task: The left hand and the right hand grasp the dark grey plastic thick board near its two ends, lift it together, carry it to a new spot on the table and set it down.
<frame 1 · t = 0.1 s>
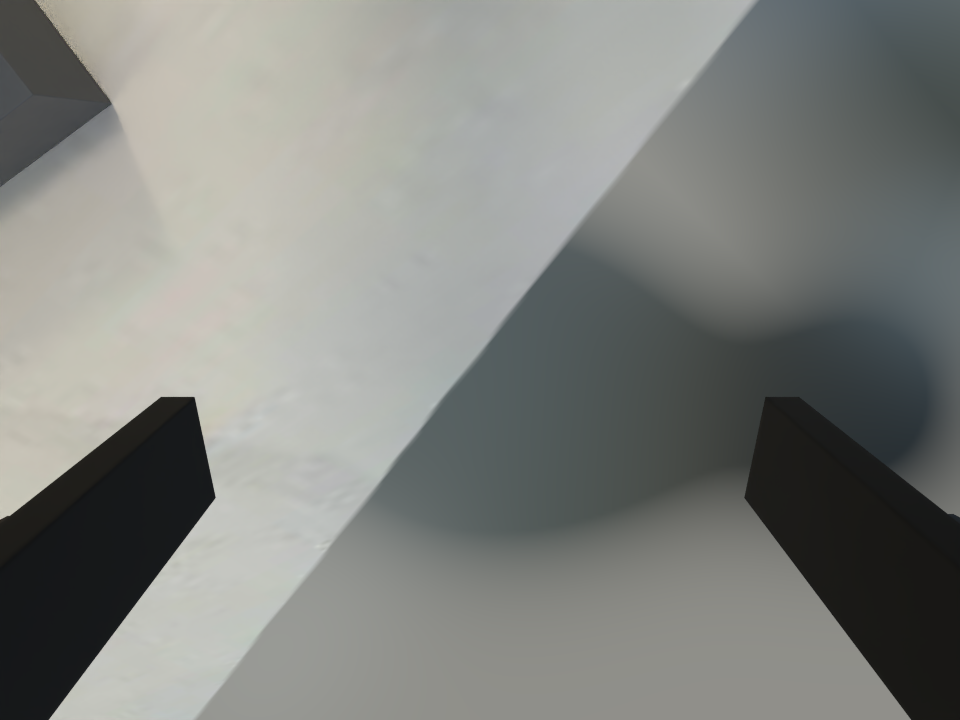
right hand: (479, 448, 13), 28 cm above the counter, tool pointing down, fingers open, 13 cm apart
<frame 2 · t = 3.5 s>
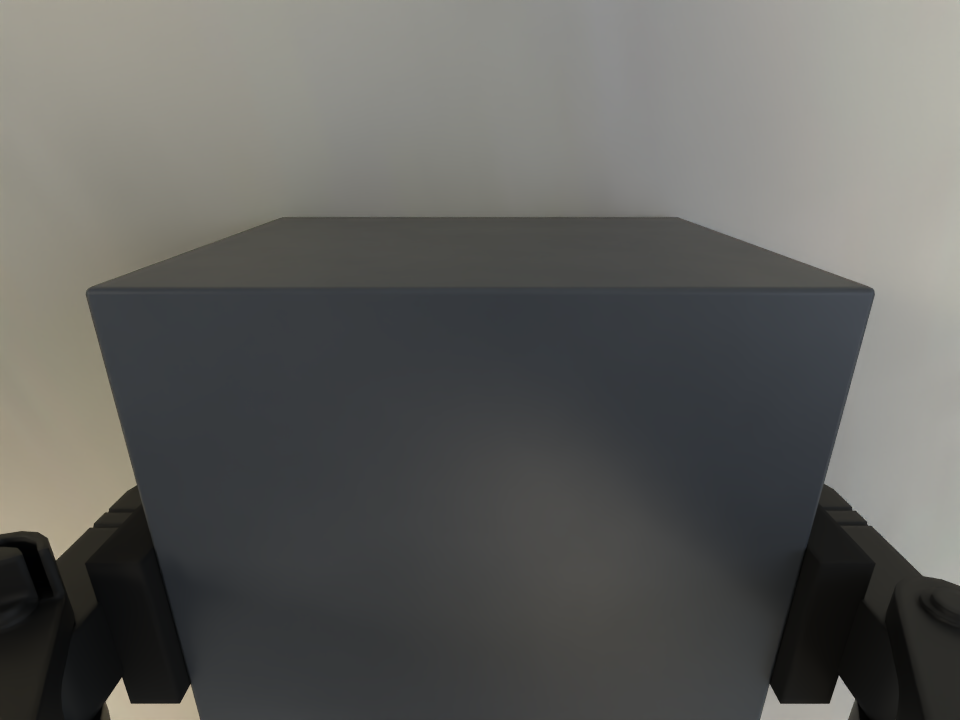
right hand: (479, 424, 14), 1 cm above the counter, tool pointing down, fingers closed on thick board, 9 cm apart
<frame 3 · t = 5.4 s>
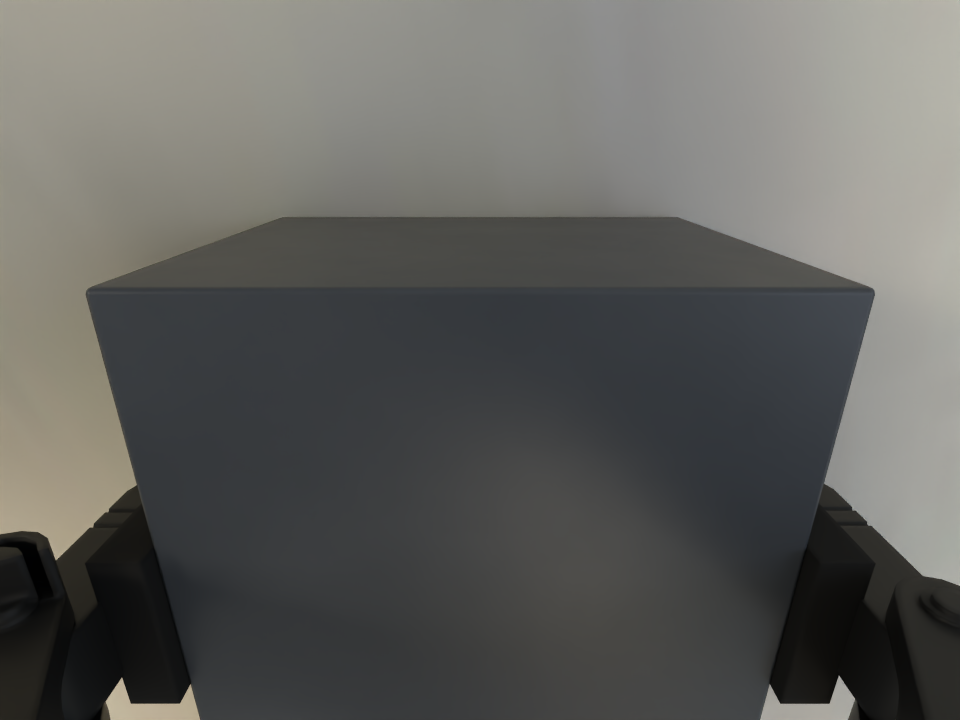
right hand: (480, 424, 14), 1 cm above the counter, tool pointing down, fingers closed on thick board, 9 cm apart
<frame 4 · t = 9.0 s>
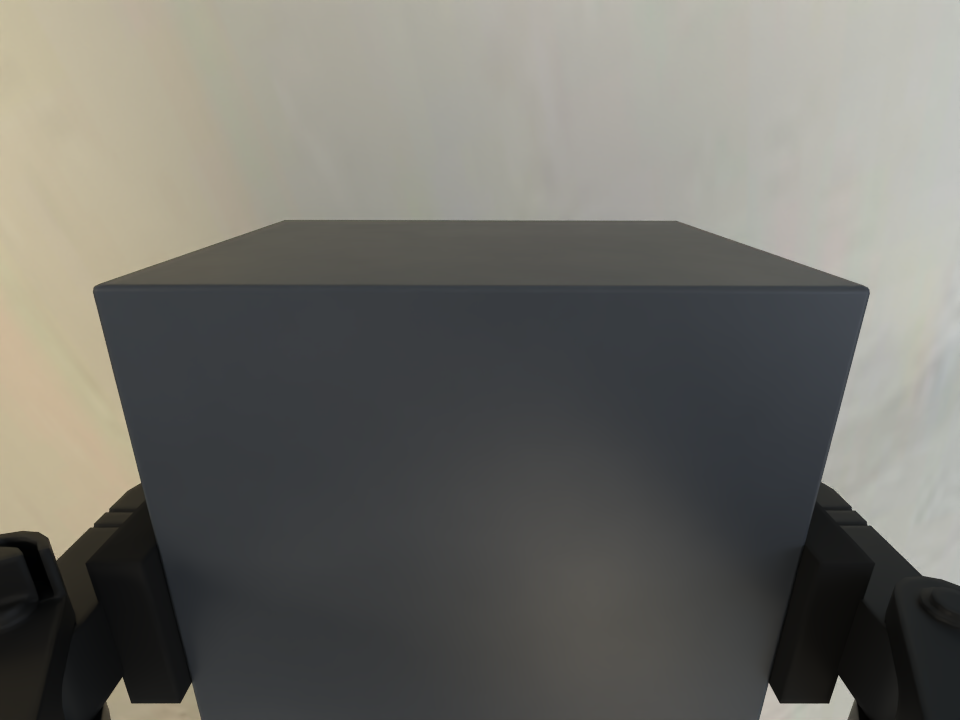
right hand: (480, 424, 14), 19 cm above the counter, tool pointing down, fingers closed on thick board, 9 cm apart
when the left hand's fingers open (2 cm above the counter, at t = 14.7 s): thick board stays where it is, on the counter.
when the right hand's fingers open (2 cm above the counter, at t = 14.7 s): thick board stays where it is, on the counter.
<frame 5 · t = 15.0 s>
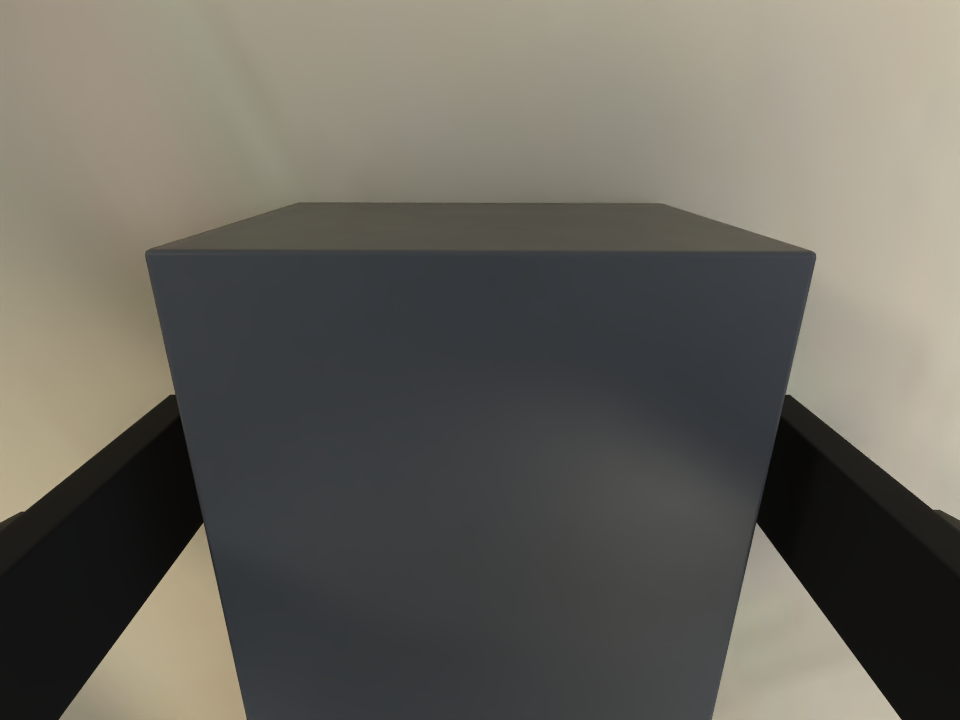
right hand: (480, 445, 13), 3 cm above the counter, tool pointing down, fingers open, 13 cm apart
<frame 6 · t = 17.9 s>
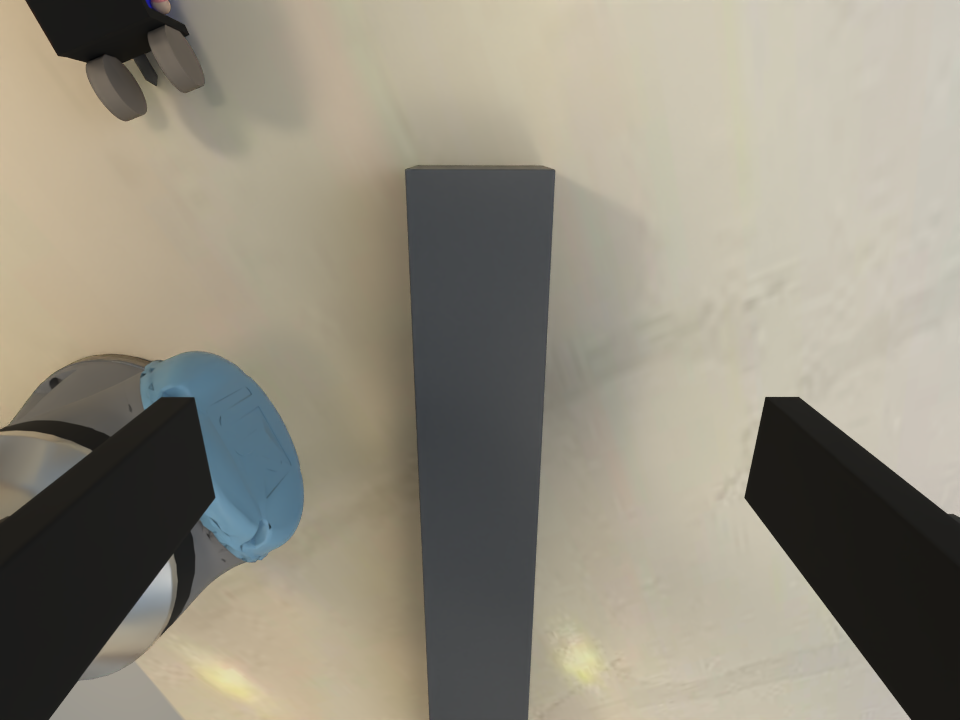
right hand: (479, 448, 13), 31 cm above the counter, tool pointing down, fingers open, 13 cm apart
thick board: (479, 503, 51), on the counter
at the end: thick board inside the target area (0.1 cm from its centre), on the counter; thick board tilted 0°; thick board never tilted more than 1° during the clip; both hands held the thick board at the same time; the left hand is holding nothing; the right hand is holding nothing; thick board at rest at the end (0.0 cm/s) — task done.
